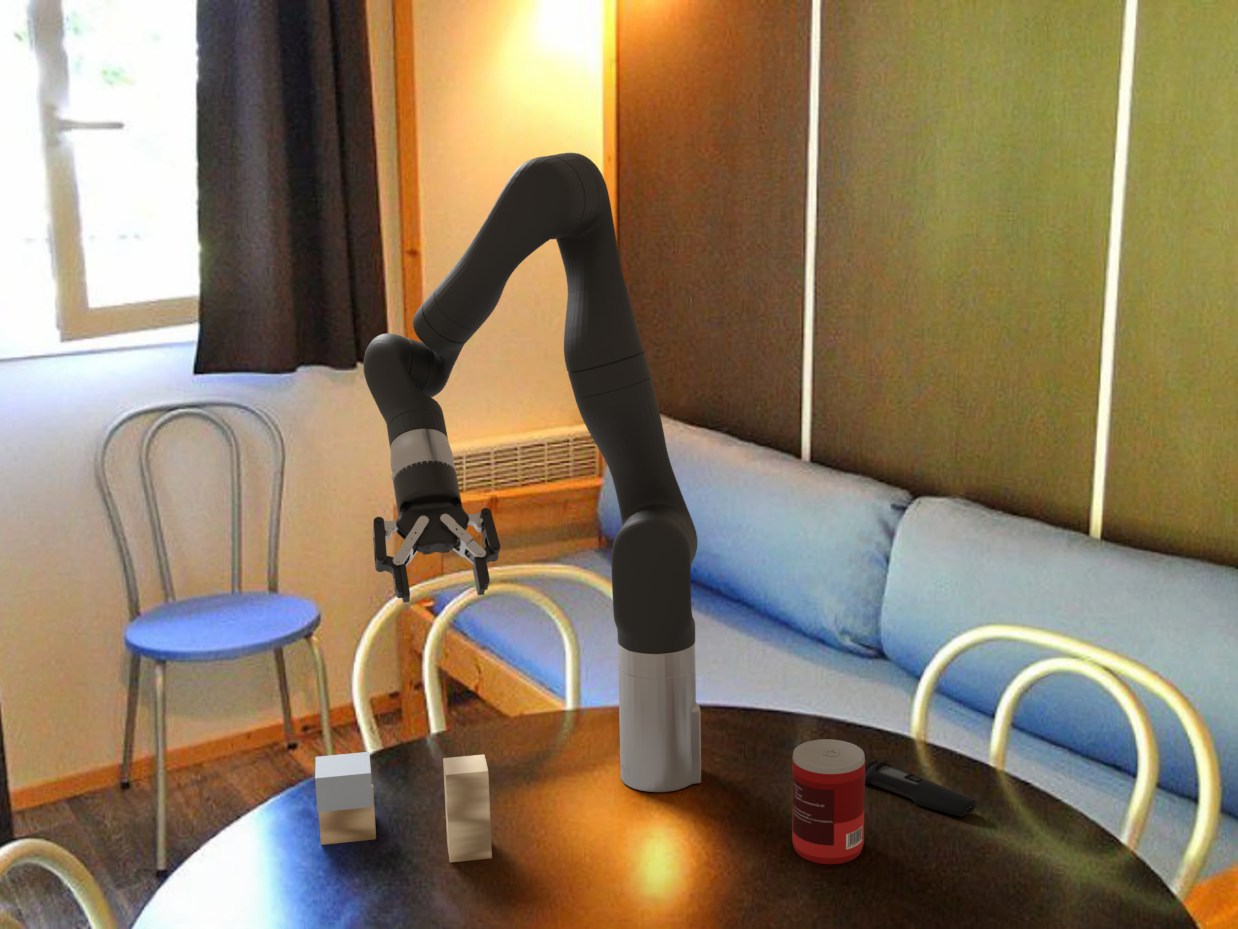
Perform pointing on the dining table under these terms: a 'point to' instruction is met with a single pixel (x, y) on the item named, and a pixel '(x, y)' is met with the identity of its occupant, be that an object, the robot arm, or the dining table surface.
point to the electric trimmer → (918, 789)
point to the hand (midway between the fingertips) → (444, 595)
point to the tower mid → (343, 782)
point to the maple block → (467, 808)
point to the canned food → (828, 801)
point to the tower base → (347, 825)
